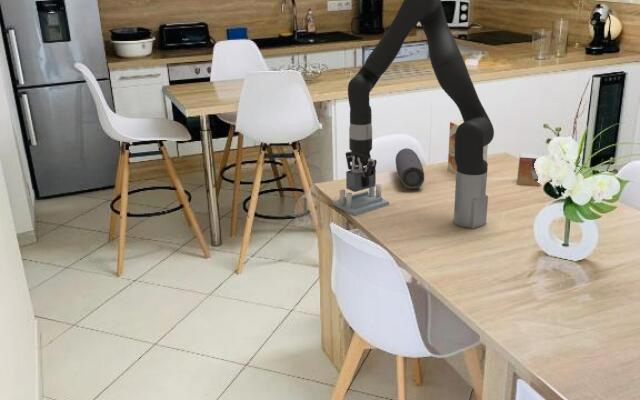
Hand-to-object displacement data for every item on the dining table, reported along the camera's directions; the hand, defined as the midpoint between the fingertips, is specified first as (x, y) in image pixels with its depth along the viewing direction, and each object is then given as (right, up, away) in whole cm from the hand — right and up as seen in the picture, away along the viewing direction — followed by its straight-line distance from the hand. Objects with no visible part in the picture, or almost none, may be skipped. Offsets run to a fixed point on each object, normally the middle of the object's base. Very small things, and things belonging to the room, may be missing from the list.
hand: (360, 184), depth 217 cm
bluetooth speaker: (+20, +2, +24) cm, 31 cm away
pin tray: (0, -7, +3) cm, 7 cm away
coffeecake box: (+42, +4, +29) cm, 51 cm away
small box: (+62, +1, +19) cm, 65 cm away
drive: (0, -1, 0) cm, 1 cm away
